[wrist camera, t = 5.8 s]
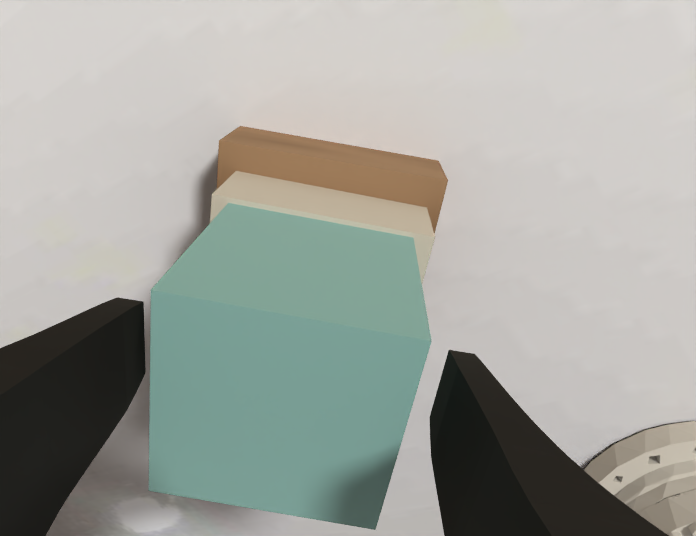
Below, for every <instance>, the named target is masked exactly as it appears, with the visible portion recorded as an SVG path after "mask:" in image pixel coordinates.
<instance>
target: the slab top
mask: <svg viewBox="0 0 696 536" xmlns="http://www.w3.org/2000/svg"><path fill="white" fill-rule="evenodd" d="M228 203H232V204H237V205H242V206H248V207H253V208H258V209H264V210H269V211H274V212H280V213H285V214H290V215H296V216H301V217H306V218H312V219H317V220H322V221H328V222H333V223H338V224H344V225H349V226H354V227H360V228H365V229H370V230H376V231H381V232H386V233H392V234H397V235H402V236H408V237H413V238H414V243H415V249H416V255H417V261H418V266H419V272H420V278H421V284H422V282H423V279H424V275H425V272H426V268H427V264H428V261H429V257H430V253H431V250H432V246H433V243H434V239H435V235H434V231H433V228H432V224H431V221H430V217H429V213H428V210H427V207H421V206H416V205H411V204H406V203H401V202H395V201H390V200H385V199H380V198H375V197H370V196H364V195H359V194H354V193H349V192H344V191H338V190H333V189H328V188H323V187H318V186H312V185H307V184H302V183H297V182H292V181H286V180H281V179H276V178H271V177H266V176H260V175H255V174H250V173H245V172H240V171H235V172H234V173H233V174H232V175H231V176H230V177H229V178H228V179H227V180H226V181H225V182H224V183H223V184H222V185H221V186H220V187H219V188H218V189H217V190H216V191H215V192H214V193H213V194H212V199H211V214H210V223H211V222H212V220H213V219H214V218H215V217H216V216H217V215H218V214H219V213H220V211H221V210H222V209H223V208H224V207H225V206H226V205H227V204H228Z"/></svg>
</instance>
